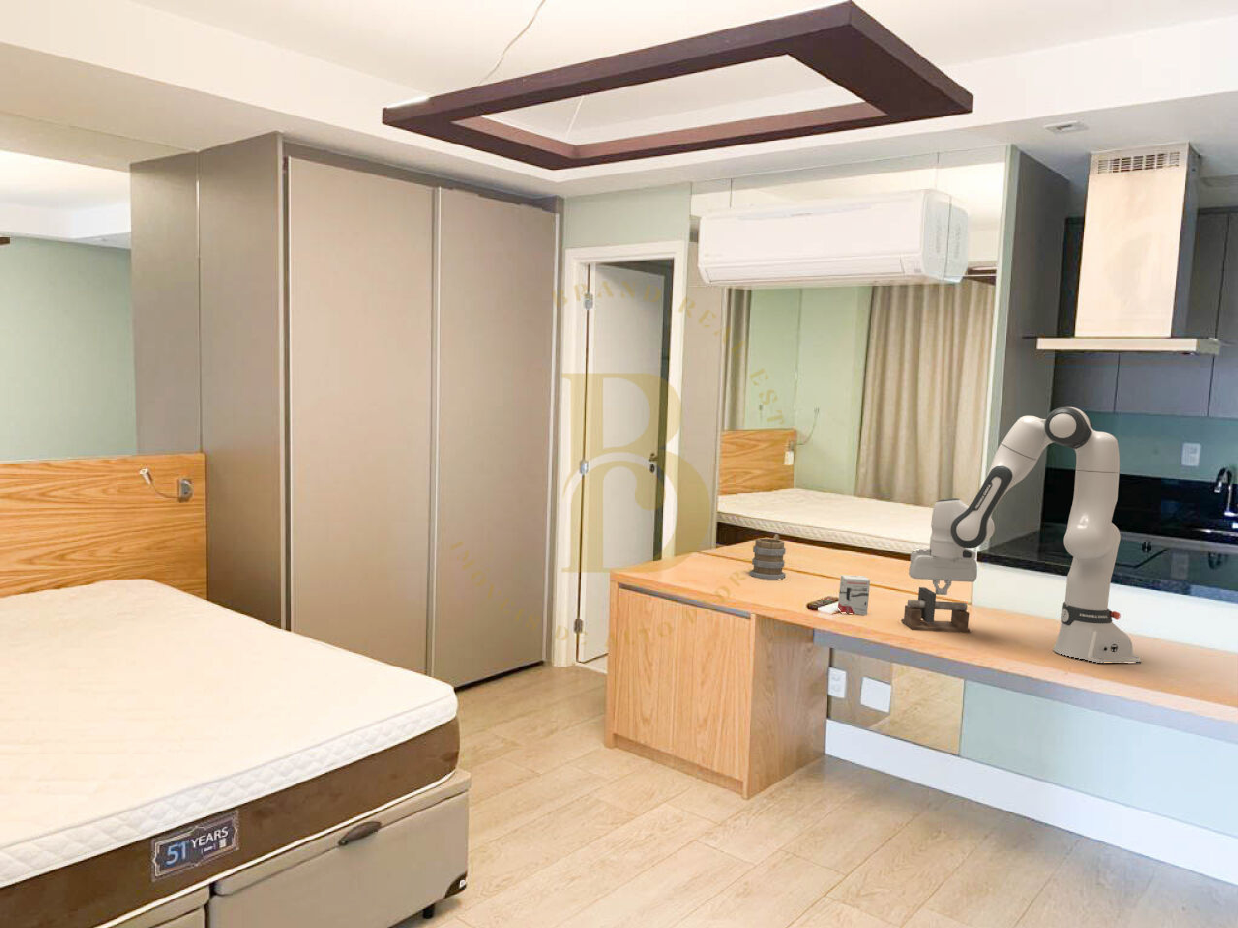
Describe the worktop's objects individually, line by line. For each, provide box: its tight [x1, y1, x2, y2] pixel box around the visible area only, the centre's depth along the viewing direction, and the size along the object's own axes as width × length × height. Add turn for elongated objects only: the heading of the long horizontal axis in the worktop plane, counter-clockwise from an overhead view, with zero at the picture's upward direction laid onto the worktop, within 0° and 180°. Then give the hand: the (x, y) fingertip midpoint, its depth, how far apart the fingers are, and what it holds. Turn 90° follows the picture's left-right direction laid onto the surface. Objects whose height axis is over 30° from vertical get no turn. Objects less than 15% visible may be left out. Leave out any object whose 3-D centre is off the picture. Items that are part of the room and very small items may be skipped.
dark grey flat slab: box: [917, 586, 937, 623], centre depth 285 cm, size 2×9×9 cm, turn 3°
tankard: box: [748, 533, 786, 581], centre depth 354 cm, size 20×13×15 cm, turn 155°
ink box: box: [837, 574, 871, 616], centre depth 299 cm, size 8×5×12 cm, turn 92°
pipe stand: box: [900, 599, 972, 634], centre depth 286 cm, size 18×10×8 cm, turn 93°
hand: (941, 594), depth 285 cm, fingers closed
